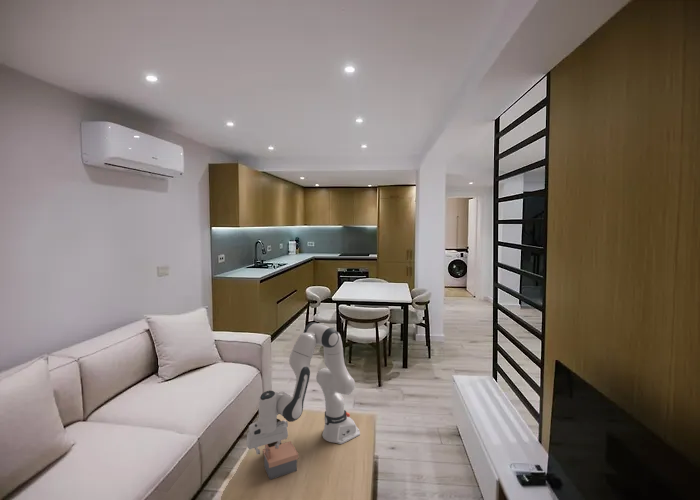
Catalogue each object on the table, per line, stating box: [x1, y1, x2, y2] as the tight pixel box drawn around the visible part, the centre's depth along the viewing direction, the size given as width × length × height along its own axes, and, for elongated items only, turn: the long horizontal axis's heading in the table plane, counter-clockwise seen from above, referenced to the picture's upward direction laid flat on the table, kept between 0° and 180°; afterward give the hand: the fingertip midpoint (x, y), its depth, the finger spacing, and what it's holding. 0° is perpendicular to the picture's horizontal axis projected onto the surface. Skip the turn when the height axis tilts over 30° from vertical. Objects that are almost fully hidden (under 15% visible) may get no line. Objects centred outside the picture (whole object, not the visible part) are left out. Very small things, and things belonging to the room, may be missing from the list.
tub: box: [263, 454, 298, 481], centre depth 181 cm, size 14×10×8 cm
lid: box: [262, 440, 299, 468], centre depth 181 cm, size 15×12×6 cm
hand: (267, 451), depth 178 cm, fingers open, 8 cm apart
